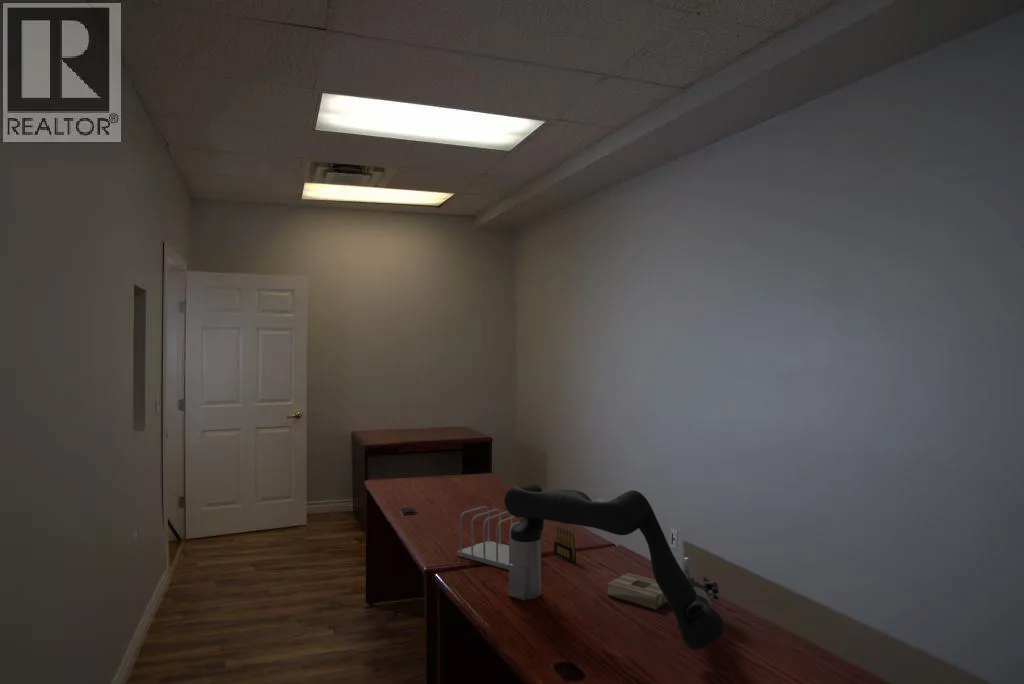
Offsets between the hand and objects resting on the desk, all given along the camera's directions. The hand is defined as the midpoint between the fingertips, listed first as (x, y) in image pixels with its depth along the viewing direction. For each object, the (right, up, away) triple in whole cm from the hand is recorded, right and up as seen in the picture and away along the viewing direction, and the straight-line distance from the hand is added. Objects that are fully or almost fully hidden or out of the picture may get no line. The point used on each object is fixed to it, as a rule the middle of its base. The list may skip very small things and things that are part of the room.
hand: (689, 579), depth 188 cm
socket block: (-12, -9, +9) cm, 18 cm away
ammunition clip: (-32, -9, +44) cm, 56 cm away
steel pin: (0, -9, +1) cm, 9 cm away
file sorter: (-56, -9, +45) cm, 73 cm away
